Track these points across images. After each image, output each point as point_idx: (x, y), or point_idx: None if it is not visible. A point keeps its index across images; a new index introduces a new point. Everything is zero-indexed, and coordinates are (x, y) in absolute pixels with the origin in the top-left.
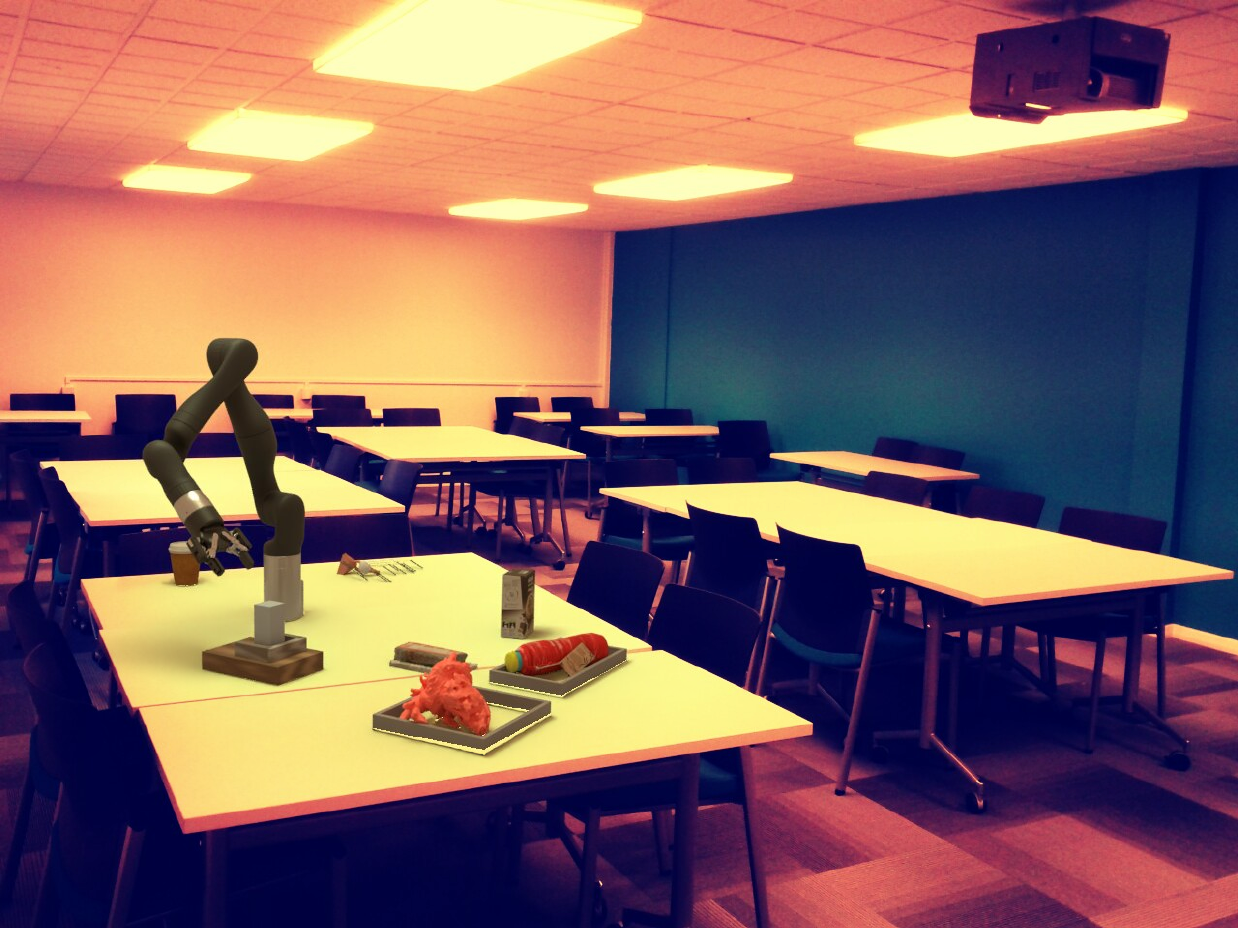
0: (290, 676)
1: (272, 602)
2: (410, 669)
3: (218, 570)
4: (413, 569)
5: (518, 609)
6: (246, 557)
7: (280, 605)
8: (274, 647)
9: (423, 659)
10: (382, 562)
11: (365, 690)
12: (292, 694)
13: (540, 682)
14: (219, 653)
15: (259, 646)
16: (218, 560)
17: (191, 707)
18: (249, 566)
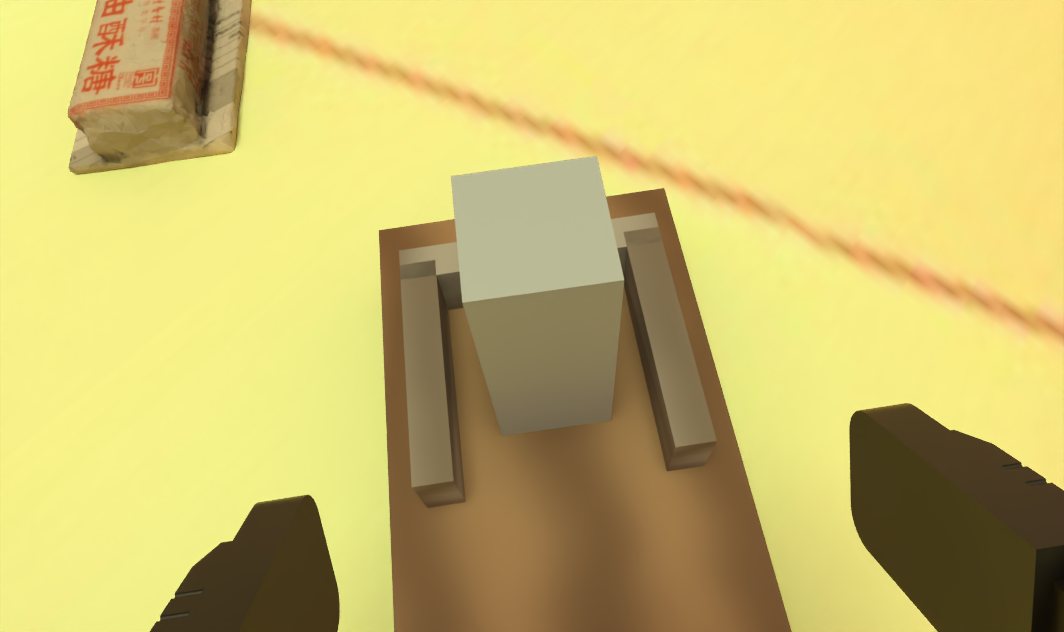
0: None
1: (491, 242)
2: (242, 75)
3: (962, 437)
4: None
5: None
6: (267, 603)
7: (492, 175)
8: (620, 223)
9: (199, 30)
10: None
11: (488, 35)
12: (674, 138)
13: None
14: (748, 566)
15: (663, 282)
16: (984, 506)
17: (1036, 255)
18: (324, 553)
